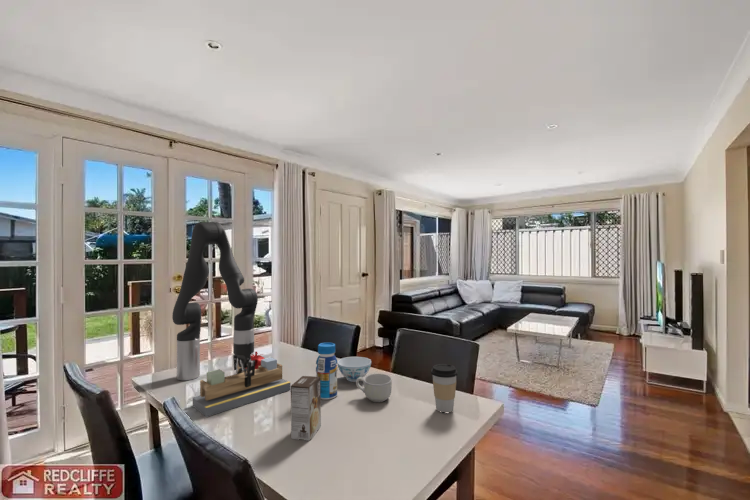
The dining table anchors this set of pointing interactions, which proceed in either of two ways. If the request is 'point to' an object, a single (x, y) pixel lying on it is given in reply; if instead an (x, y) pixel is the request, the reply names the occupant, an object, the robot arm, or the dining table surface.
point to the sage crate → (215, 377)
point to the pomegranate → (257, 359)
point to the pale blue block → (269, 363)
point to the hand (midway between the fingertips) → (243, 384)
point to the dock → (239, 397)
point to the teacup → (376, 386)
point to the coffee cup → (444, 386)
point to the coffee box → (305, 407)
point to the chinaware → (354, 367)
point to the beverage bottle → (327, 370)
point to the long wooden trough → (239, 382)
